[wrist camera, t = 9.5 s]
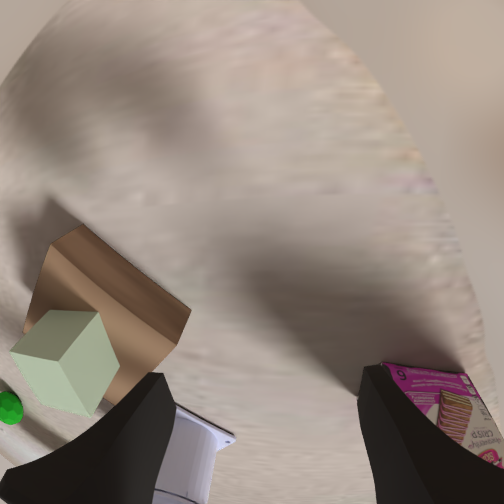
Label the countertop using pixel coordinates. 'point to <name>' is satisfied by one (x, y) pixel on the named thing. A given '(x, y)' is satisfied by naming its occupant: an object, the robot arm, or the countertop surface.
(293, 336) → the countertop surface
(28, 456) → the countertop surface
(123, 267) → the walnut block
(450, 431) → the candy bar box
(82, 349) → the sage block
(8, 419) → the polyhedron
